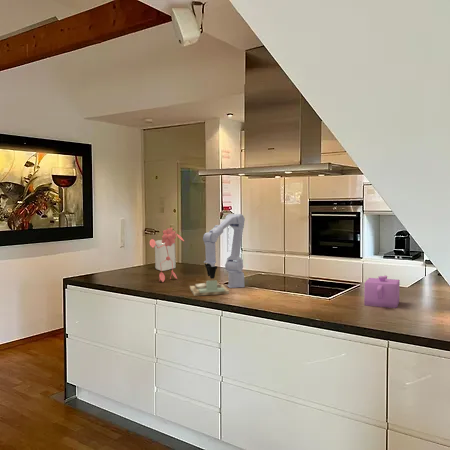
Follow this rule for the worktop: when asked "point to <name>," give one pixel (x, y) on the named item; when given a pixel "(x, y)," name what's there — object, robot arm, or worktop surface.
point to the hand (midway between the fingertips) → (211, 277)
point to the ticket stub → (211, 287)
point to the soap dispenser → (164, 256)
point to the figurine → (168, 240)
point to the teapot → (381, 292)
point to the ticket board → (202, 286)
